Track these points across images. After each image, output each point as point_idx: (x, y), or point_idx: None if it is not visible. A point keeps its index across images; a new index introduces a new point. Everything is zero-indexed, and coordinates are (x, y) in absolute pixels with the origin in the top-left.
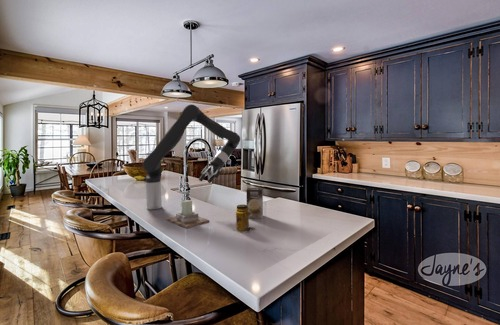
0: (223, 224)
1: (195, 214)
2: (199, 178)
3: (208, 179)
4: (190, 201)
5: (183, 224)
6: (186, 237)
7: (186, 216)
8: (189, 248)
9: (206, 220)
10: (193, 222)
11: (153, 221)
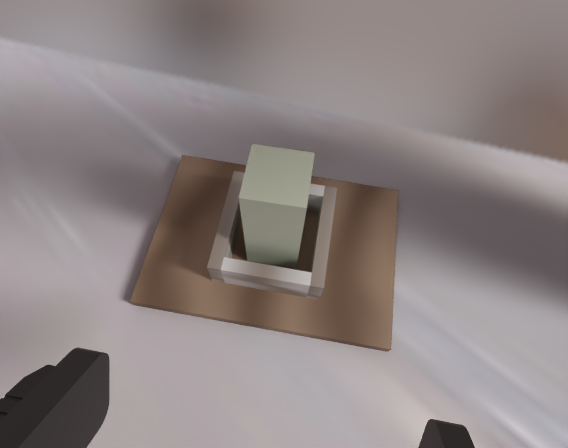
0: (8, 317)
1: (213, 245)
2: (457, 435)
3: (67, 372)
4: (242, 185)
5: (219, 168)
6: (102, 97)
7: (231, 183)
8: (23, 45)
9: (139, 284)
10: (192, 217)
11: (429, 149)
